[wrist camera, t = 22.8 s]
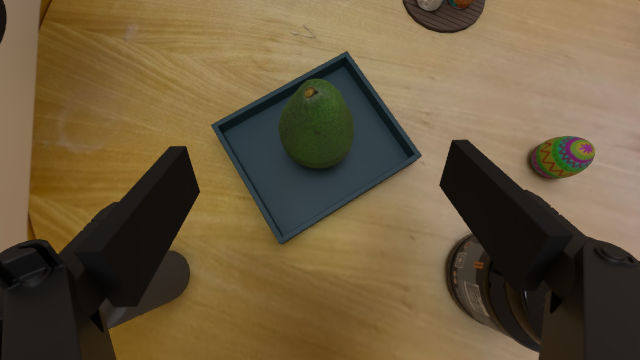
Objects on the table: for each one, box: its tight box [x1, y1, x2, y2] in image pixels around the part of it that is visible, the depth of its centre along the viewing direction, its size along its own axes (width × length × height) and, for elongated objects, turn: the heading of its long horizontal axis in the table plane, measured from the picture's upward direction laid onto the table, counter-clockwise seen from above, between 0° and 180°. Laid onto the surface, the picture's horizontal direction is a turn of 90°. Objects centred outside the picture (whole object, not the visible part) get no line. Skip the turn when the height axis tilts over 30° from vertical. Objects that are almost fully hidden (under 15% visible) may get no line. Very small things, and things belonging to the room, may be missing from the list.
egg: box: [531, 136, 595, 178], centre depth 33 cm, size 5×5×6 cm
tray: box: [211, 51, 422, 244], centre depth 34 cm, size 19×16×3 cm
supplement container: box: [447, 234, 596, 353], centre depth 27 cm, size 10×10×12 cm
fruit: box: [278, 79, 354, 168], centre depth 28 cm, size 8×8×12 cm
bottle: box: [100, 250, 189, 329], centre depth 24 cm, size 6×6×15 cm
